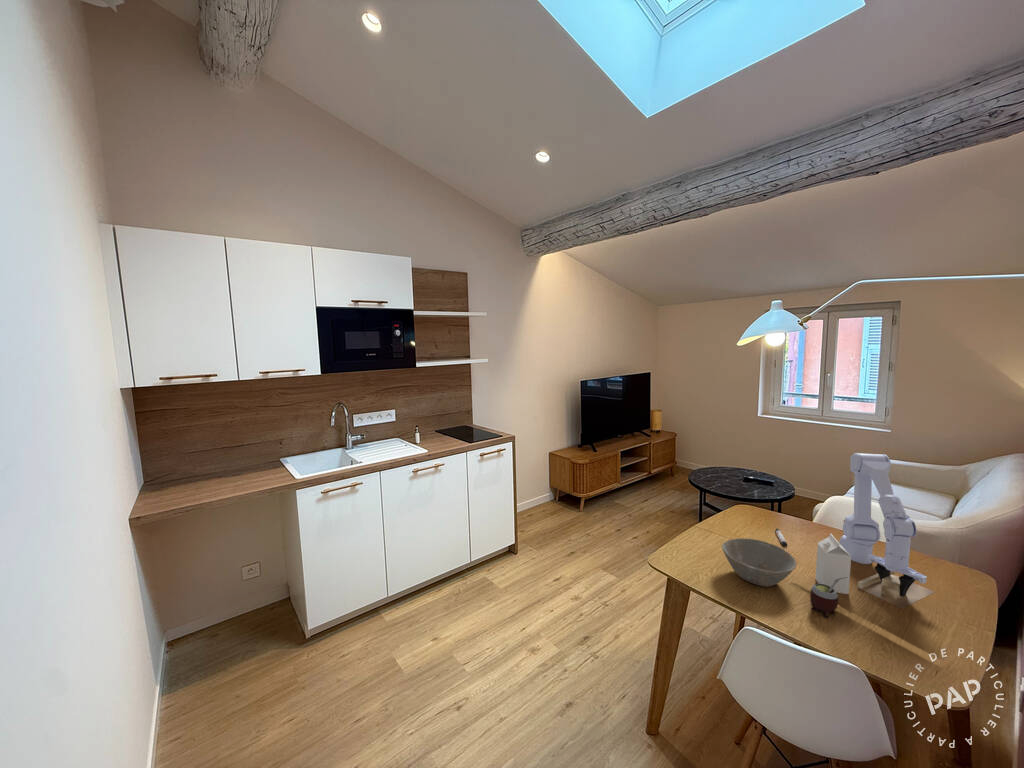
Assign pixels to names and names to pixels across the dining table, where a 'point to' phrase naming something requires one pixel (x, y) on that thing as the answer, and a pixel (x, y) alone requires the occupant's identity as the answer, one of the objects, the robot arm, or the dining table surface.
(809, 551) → the dining table surface
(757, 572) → the ceramic bowl
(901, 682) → the dining table surface
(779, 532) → the marker
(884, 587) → the block
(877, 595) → the pale wooden board
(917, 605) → the dining table surface
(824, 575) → the milk carton
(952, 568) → the dining table surface
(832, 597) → the mate gourd
